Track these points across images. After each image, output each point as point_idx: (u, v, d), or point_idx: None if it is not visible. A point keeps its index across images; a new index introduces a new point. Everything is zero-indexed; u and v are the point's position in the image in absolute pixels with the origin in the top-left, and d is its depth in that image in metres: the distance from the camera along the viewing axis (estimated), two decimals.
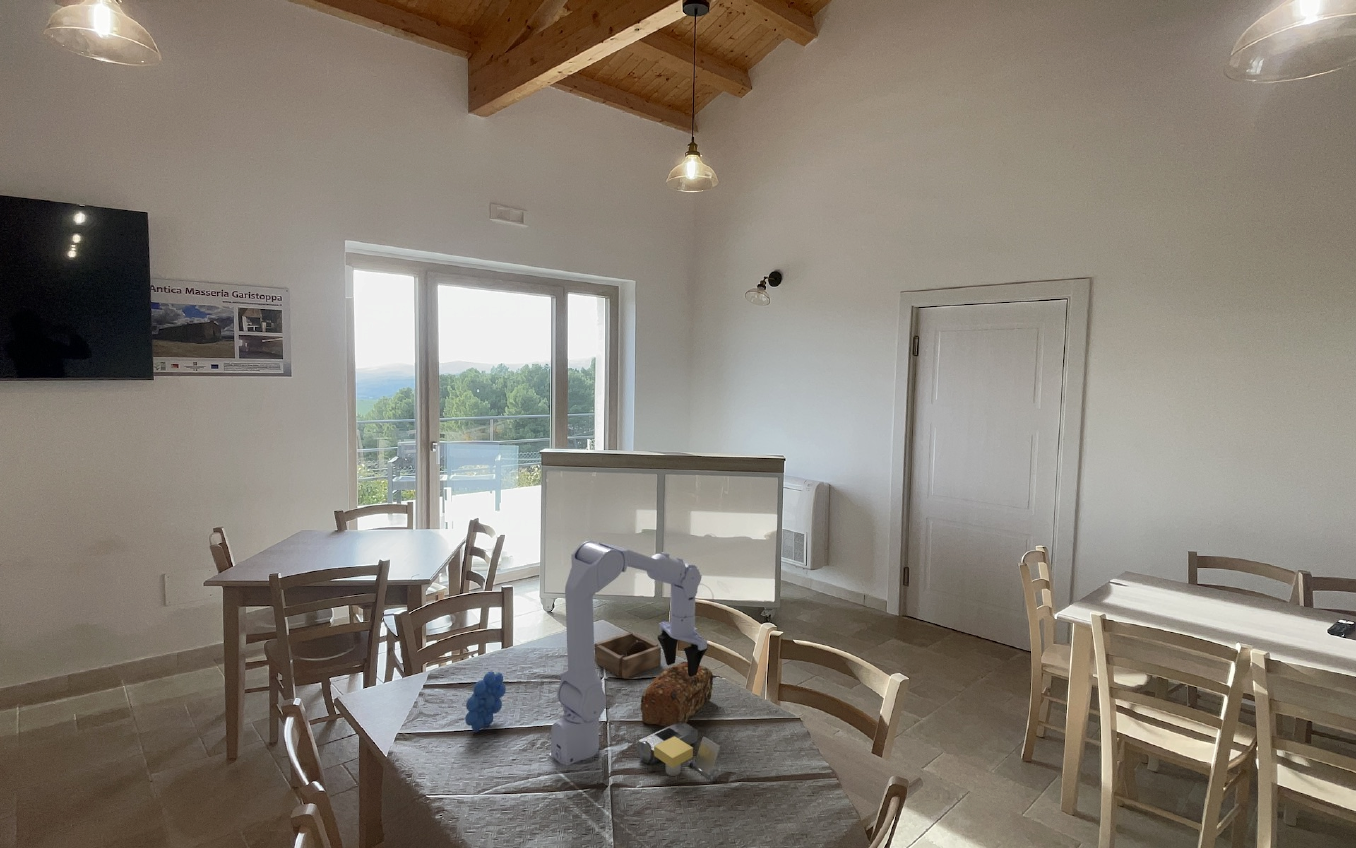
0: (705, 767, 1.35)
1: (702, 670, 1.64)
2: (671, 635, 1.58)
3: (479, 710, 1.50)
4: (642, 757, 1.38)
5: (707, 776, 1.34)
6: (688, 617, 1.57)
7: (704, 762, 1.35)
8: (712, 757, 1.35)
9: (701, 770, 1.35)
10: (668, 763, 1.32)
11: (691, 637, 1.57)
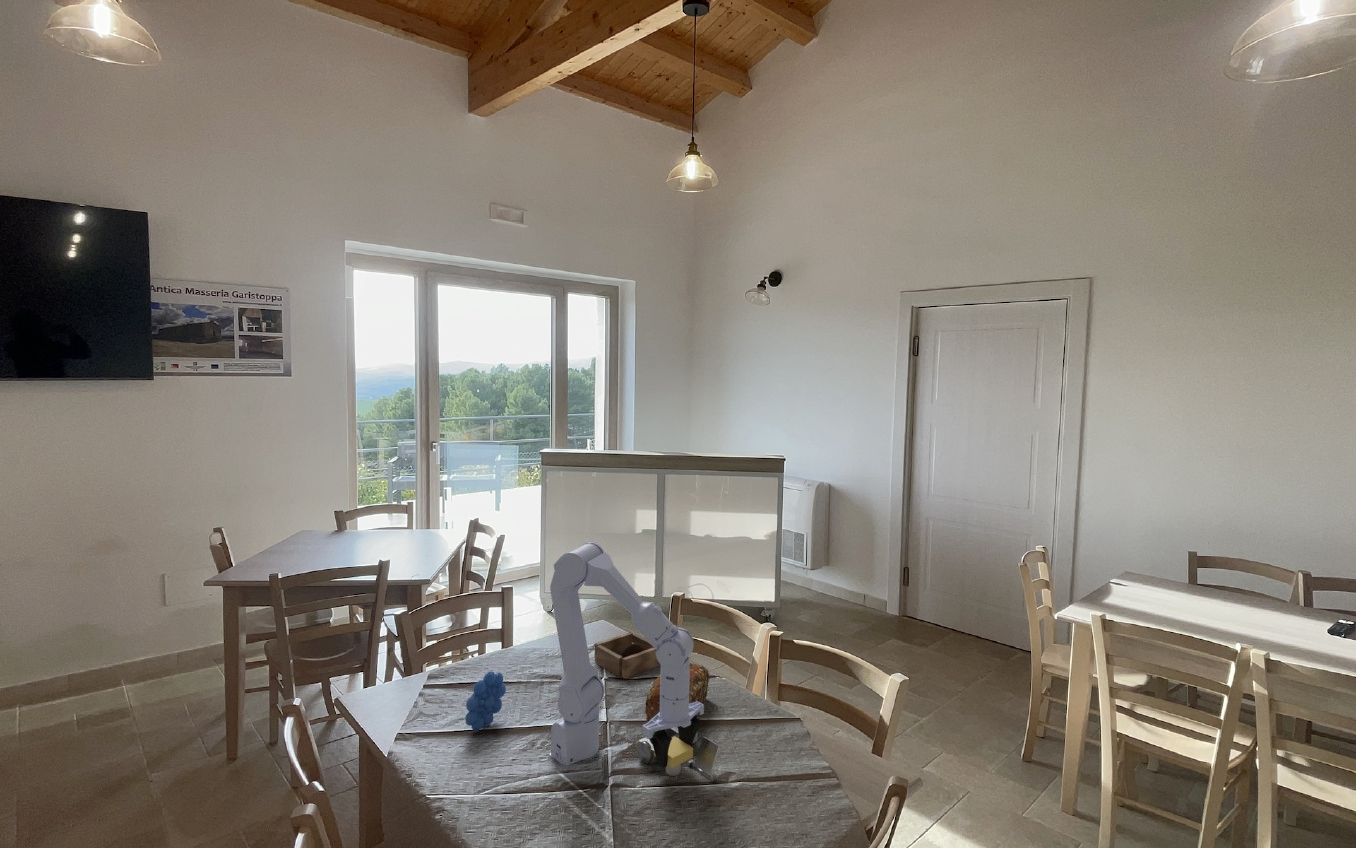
0: (705, 767, 1.35)
1: (699, 668, 1.64)
2: None
3: (479, 710, 1.50)
4: (642, 757, 1.38)
5: (707, 776, 1.34)
6: (661, 696, 1.33)
7: (704, 762, 1.35)
8: (712, 757, 1.35)
9: (701, 770, 1.35)
10: (668, 763, 1.32)
11: None
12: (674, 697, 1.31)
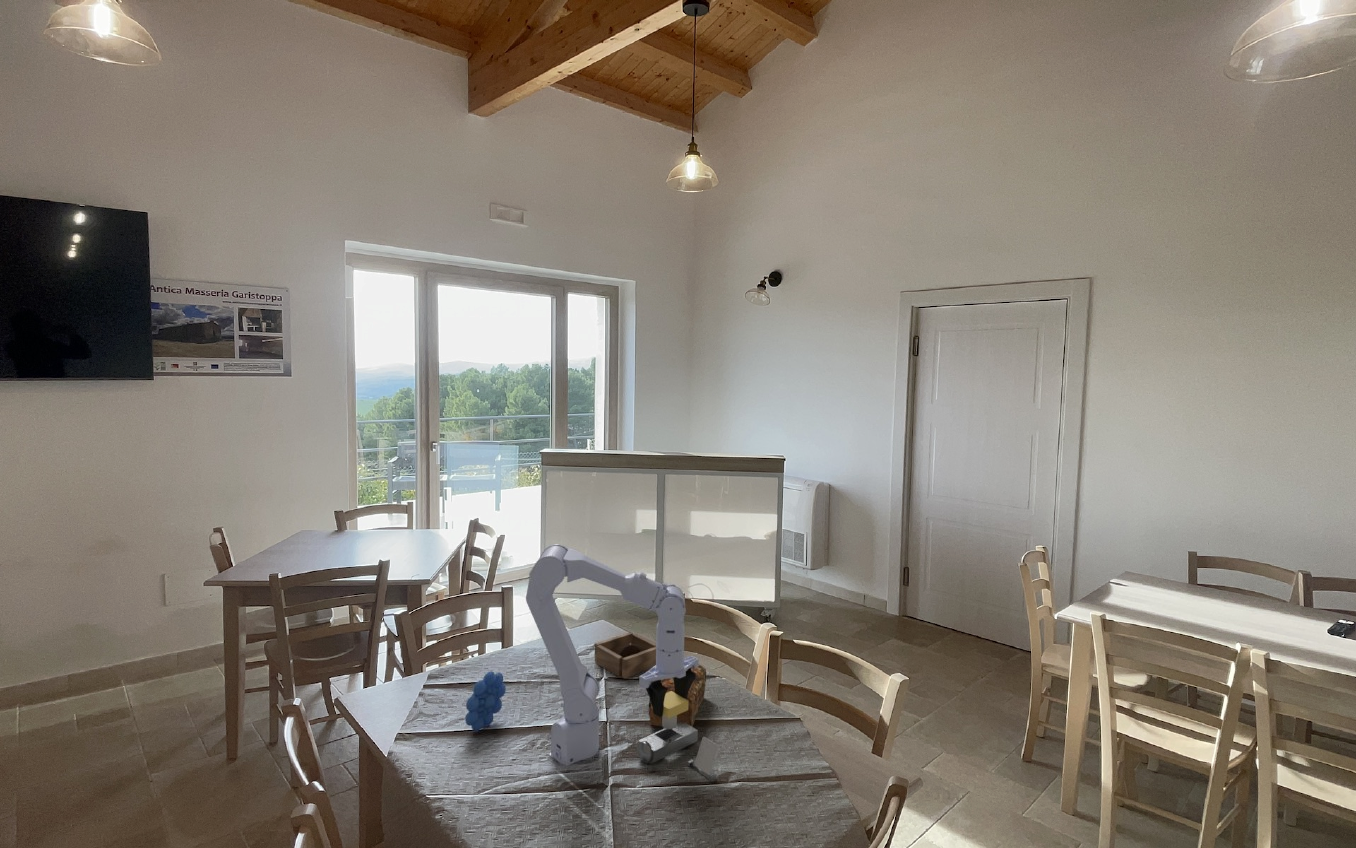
0: (705, 767, 1.35)
1: None
2: None
3: (479, 710, 1.50)
4: (642, 757, 1.38)
5: (707, 776, 1.34)
6: (657, 649, 1.39)
7: (704, 762, 1.35)
8: (712, 757, 1.35)
9: (701, 770, 1.35)
10: (664, 714, 1.39)
11: None
12: (674, 649, 1.38)
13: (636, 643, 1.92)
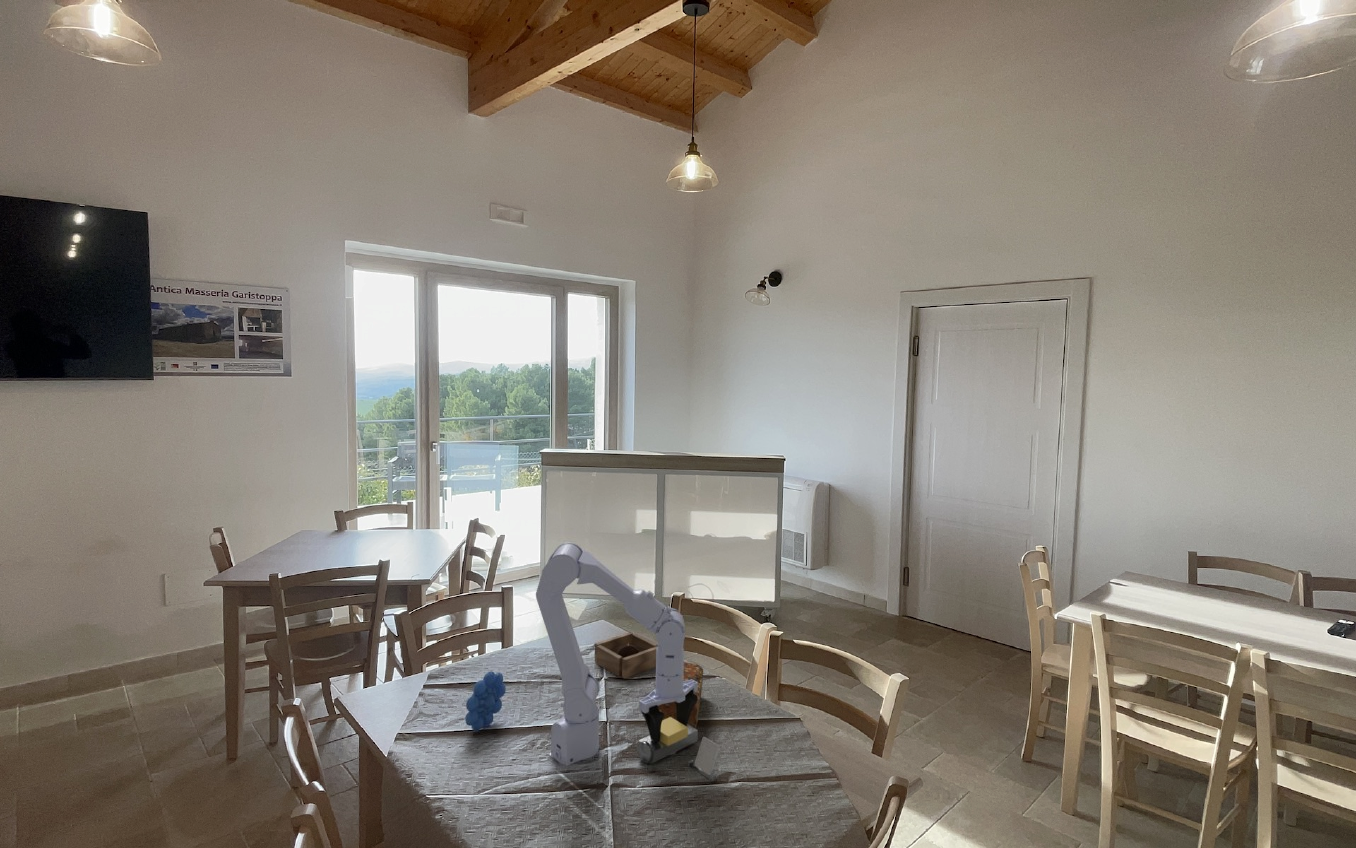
0: (705, 767, 1.35)
1: (695, 667, 1.65)
2: None
3: (479, 710, 1.50)
4: (642, 757, 1.38)
5: (707, 776, 1.34)
6: (657, 673, 1.40)
7: (704, 762, 1.35)
8: (712, 757, 1.35)
9: (701, 770, 1.35)
10: (664, 741, 1.39)
11: None
12: (674, 673, 1.38)
13: (636, 643, 1.92)
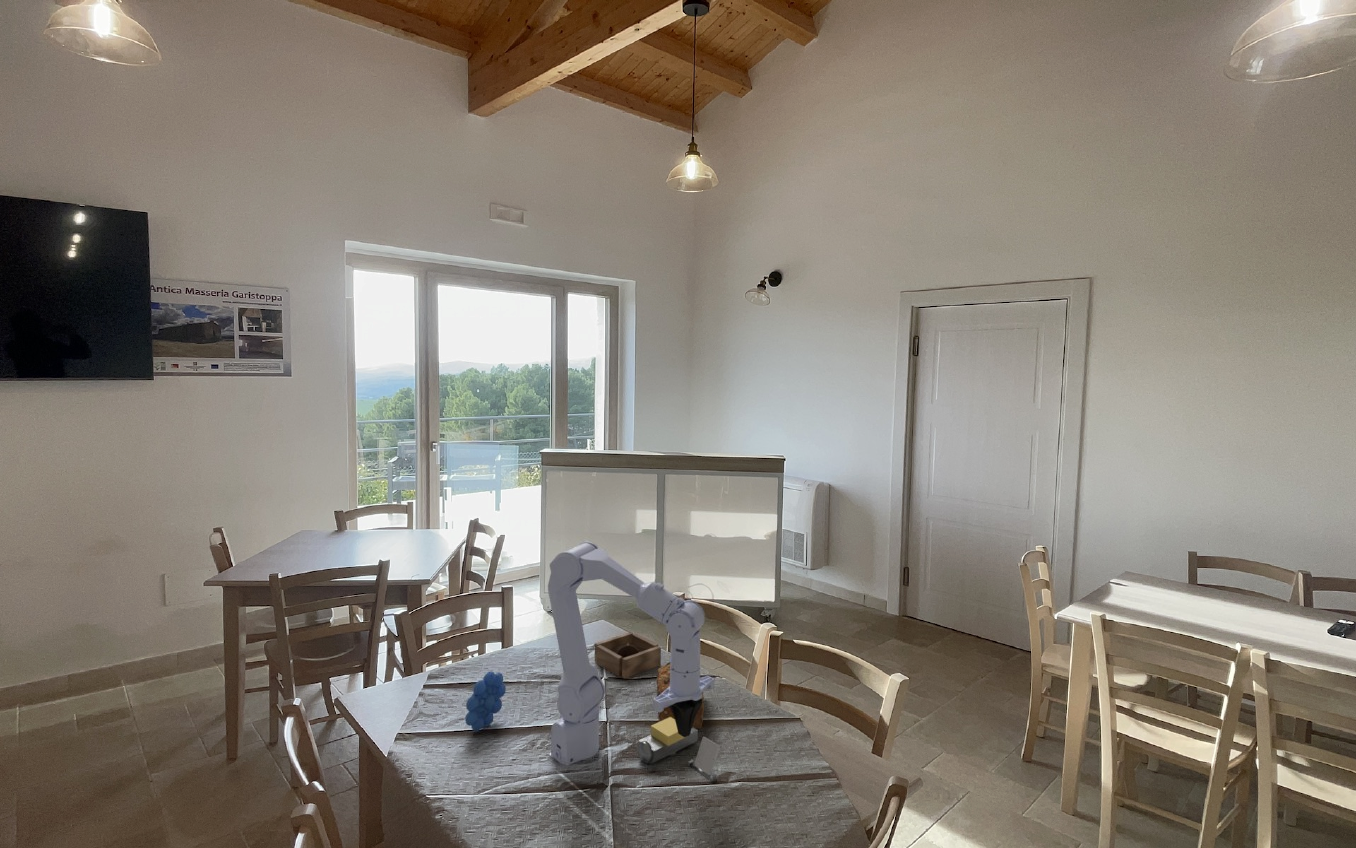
0: (705, 767, 1.35)
1: None
2: None
3: (479, 710, 1.50)
4: (642, 757, 1.38)
5: (707, 776, 1.34)
6: (672, 669, 1.30)
7: (704, 762, 1.35)
8: (712, 757, 1.35)
9: (701, 770, 1.35)
10: (664, 741, 1.39)
11: None
12: (684, 670, 1.29)
13: (636, 643, 1.92)
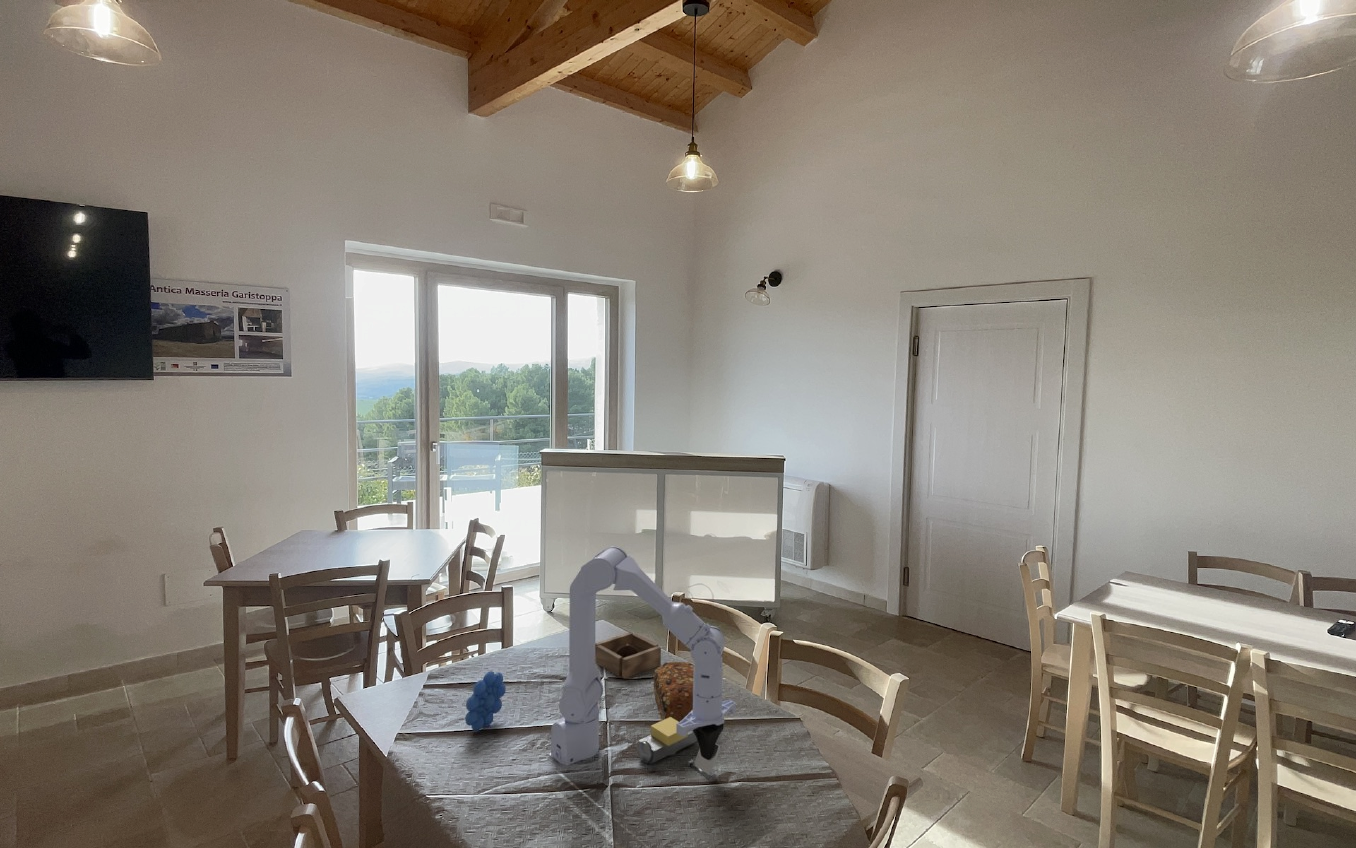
0: (705, 767, 1.35)
1: (689, 665, 1.66)
2: None
3: (479, 710, 1.50)
4: (642, 757, 1.38)
5: (707, 776, 1.34)
6: (694, 694, 1.33)
7: (705, 762, 1.35)
8: (712, 757, 1.35)
9: (701, 770, 1.35)
10: (664, 741, 1.39)
11: None
12: (709, 695, 1.32)
13: (636, 643, 1.92)
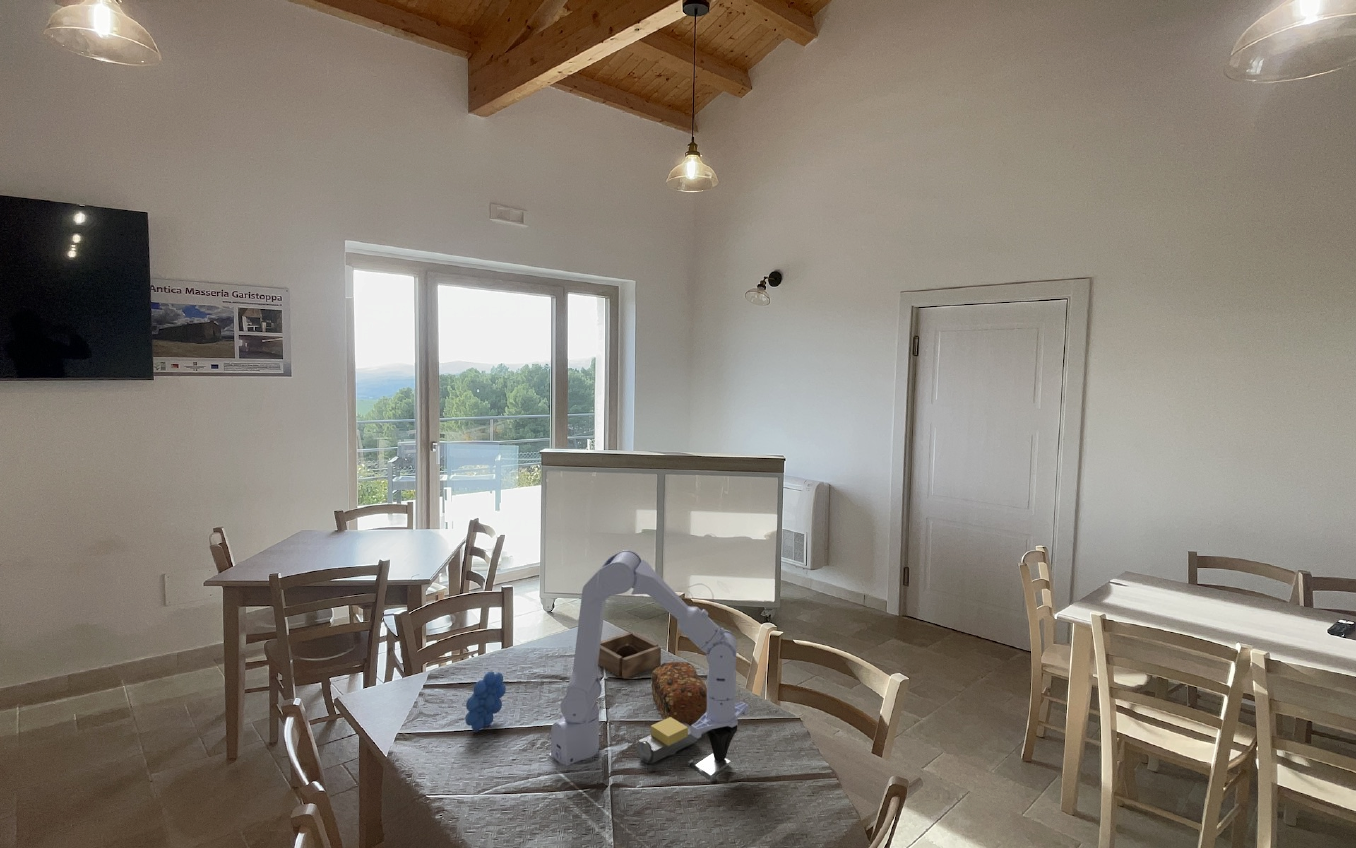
0: (708, 769, 1.35)
1: (688, 665, 1.66)
2: None
3: (479, 710, 1.50)
4: (642, 757, 1.38)
5: (708, 774, 1.34)
6: (708, 697, 1.36)
7: (709, 766, 1.36)
8: (720, 765, 1.36)
9: (703, 770, 1.35)
10: (664, 741, 1.39)
11: None
12: (725, 697, 1.34)
13: (636, 643, 1.92)
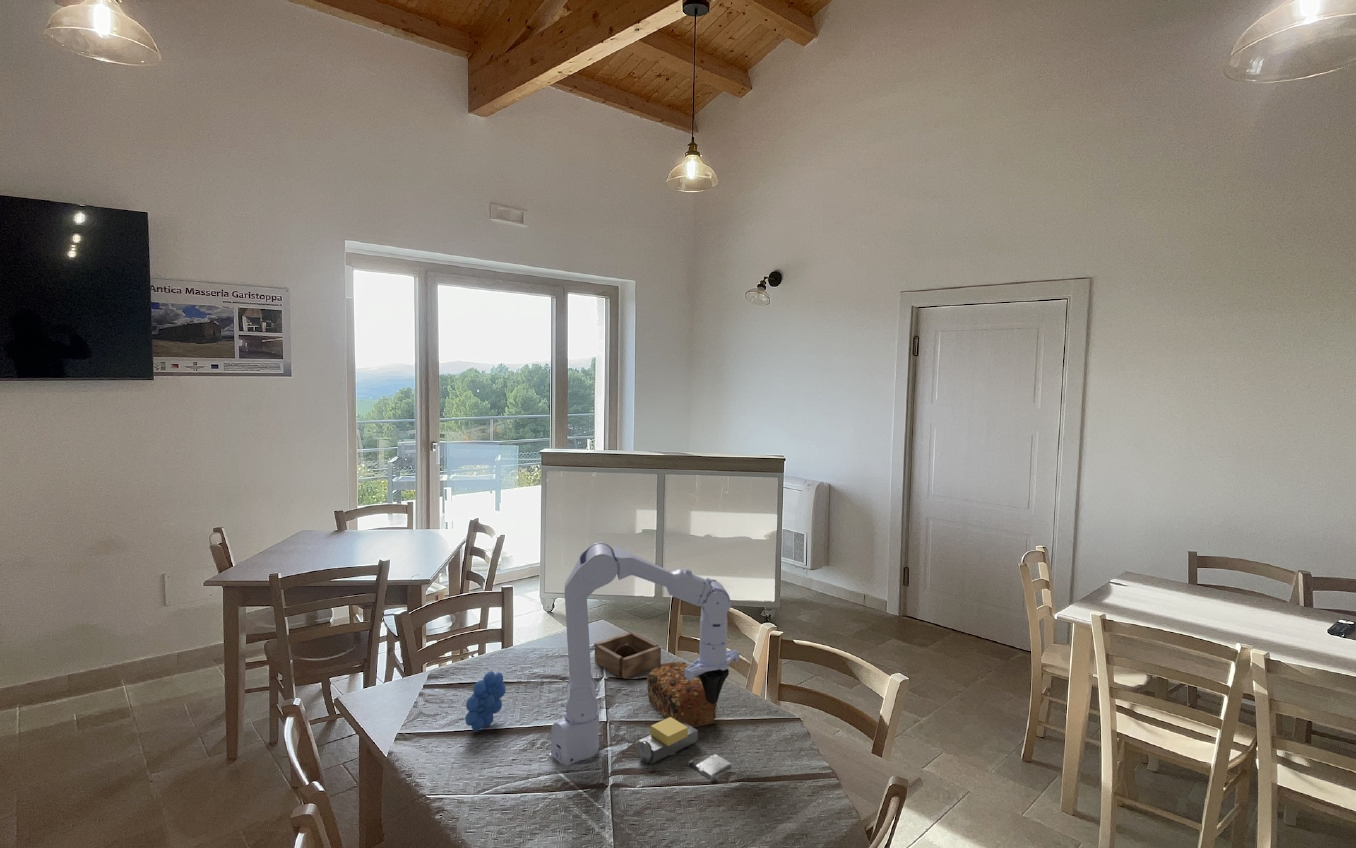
0: (708, 770, 1.35)
1: (684, 664, 1.66)
2: None
3: (479, 710, 1.50)
4: (642, 757, 1.38)
5: (709, 774, 1.34)
6: (701, 642, 1.43)
7: (709, 767, 1.36)
8: (720, 767, 1.36)
9: (703, 770, 1.35)
10: (664, 741, 1.39)
11: None
12: (720, 642, 1.42)
13: (636, 643, 1.92)
